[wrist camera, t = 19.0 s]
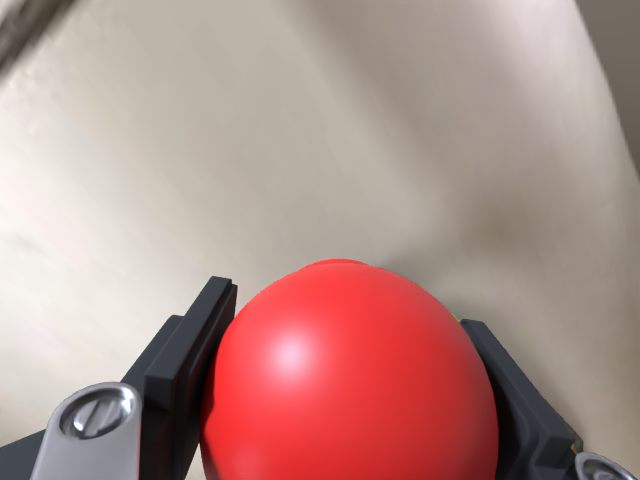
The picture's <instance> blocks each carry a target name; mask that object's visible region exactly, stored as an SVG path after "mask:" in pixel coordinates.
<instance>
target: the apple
mask: <svg viewBox="0 0 640 480" xmlns="http://www.w3.org/2000/svg"><path fill="white" fill-rule="evenodd" d="M199 443H200V450H201V456H202V463H203V468H204V473H205V476H206V479H207V480H494V479H495V473H496V467H497V461H498V448H499V427H498V419H497V411H496V405H495V399H494V394H493V391H492V387H491V384H490V381H489V378H488V375H487V372H486V369H485V366H484V364H483V362H482V360H481V358H480V356H479V354H478V352H477V350H476V348H475V346H474V344H473V343H472V341H471V339H470V337H469V335H468V334H467V333H466V331H465V330H464V329H463V327H462V326H461V325H460V323H459V322H458V321H457V320H456V318H455V317H454V316H453V315H452V313H451V312H450V311H449V310H448V309H447V308H446V307H445V306H444V305H442V304H441V303H440V302H439V301H438V300H437V299H436V298H435V297H433V296H432V295H431V294H430V293H428V292H427V291H425V290H424V289H423V288H421V287H420V286H419V285H417V284H415V283H413V282H411V281H409V280H408V279H406V278H404V277H402V276H400V275H397V274H395V273H392V272H390V271H387V270H384V269H381V268H377V267H373V266H369V265H367V264H364V263H362V262H358V261H354V260H348V259H330V260H323V261H319V262H316V263H313V264H311V265H308V266H306V267H304V268H302V269H300V270H299V271H297V272H294V273H292V274H289V275H287V276H285V277H283V278H282V279H280V280H278V281H276V282H274V283H273V284H271V285H270V286H268V287H267V288H266V289H264V290H263V291H261V292H260V293H259V294H257V295H256V296H255V297H254V298H253V299H252V300H251V301H250V302H249V303H248V304H247V305H245V307H244V308H243V309H242V310H241V311H240V312H239V313H238V315H237V316H236V317H235V318H234V320H233V321H232V322H231V324H230V325H229V326H228V328H227V330H226V331H225V333H224V335H223V337H222V338H221V340H220V342H219V344H218V346H217V347H216V349H215V351H214V354H213V357H212V360H211V363H210V365H209V368H208V371H207V374H206V377H205V380H204V386H203V392H202V397H201V403H200V409H199Z"/></svg>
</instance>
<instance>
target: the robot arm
mask: <svg viewBox="0 0 640 480" xmlns="http://www.w3.org/2000/svg"><path fill="white" fill-rule="evenodd" d="M237 288H238V286H237V285H235V284H232V280H231V279H228V278H222V277H216V276H212V277H211V278H210V280H209V281H208V282H207V284H206V285H205V287H204V288H203V290H202V291H201V292H200V294H199V295H198V297H197V298H196V300H195V301H194V303H193V304H192V305H191V307H190V308H189V310H188V311H187V313H186V314H185V316H178V315H172V316H170V318H169V319H168V320H167V321H166V322H165V324H164V325H163V326H162V328H161V329H160V330H159V332H158V333H157V334H156V335H155V337H154V338H153V339H152V341H151V342H150V343H149V345H148V346H147V347H146V349H145V350H144V351H143V353H142V354H141V355H140V356H139V358H138V359H137V360H136V362H135V363H134V364H133V366H132V367H131V368H130V370H129V371H128V372H127V373H126V375H125V376H124V377H123V379H122V380H121V381H120V382H103V383H99V384H95V385H91V386H88V387H86V388H84V389H81V390H79V391H77V392H75V393H74V394H72V395H71V396H69V397H68V398H66V399H65V400H64V401H63V402H62V403H61V404H60V405H59V406H58V407H57V408H56V409H55V410H54V412H53V414H52V416H51V417H50V419H49V421H48V425H47V428H46V429H44V430H42V431H39V432H37V433H35V434H32V435H30V436H27V437H25V438H22V439H20V440H18V441H15V442H13V443H10V444H8V445H5V446H3V447H0V480H185V478H186V475H187V473H188V470H189V467H190V465H191V462H192V459H193V457H194V454H195V452H196V449H197V446H198V444H199V409H200V403H201V397H202V392H203V386H204V380H205V377H206V374H207V371H208V368H209V365H210V363H211V360H212V357H213V354H214V351H215V349H216V347H217V346H218V344H219V342H220V340H221V338H222V337H223V335H224V333H225V331H226V330H227V328H228V326H229V325H230V324H231V322H232V321H233V320H234V315H235V306H236V298H237ZM460 325H461V326H462V327H463V329H464V330H465V331H466V333H467V334H468V335H469V337H470V339H471V341H472V343H473V344H474V346H475V348H476V350H477V352H478V354H479V356H480V358H481V360H482V362H483V364H484V366H485V369H486V372H487V375H488V378H489V381H490V384H491V387H492V391H493V394H494V399H495V405H496V411H497V419H498V427H499V448H498V461H497V467H496V473H495V479H494V480H638V479H636V478H635V477H634V476H633V475H632V474H631V473H630V472H628V471H627V470H625V469H624V468H622V467H621V466H620V465H618V464H617V463H615V462H613V461H611V460H609V459H607V458H606V457H604V456H601V455H598V454H595V453H591V452H582V453H578V454H577V455H576V454H575V452H574V451H573V450H572V448H571V446H572V444H573V443H574V441H575V440H576V439H575V438H574V437H573V436H572V434H571V433H570V432H569V430H568V429H567V428H566V427H565V425H564V424H563V423H562V422H561V420H560V419H559V418H558V416H557V415H556V414H555V413H554V411H553V410H552V409H551V408H550V406H549V405H548V404H547V402H546V401H545V400H544V399H543V397H542V396H541V395H540V393H539V392H538V391H537V390H536V388H535V387H534V386H533V385H532V383H531V382H530V381H529V379H528V378H527V377H526V376H525V374H524V373H523V372H522V371H521V369H520V368H519V367H518V365H517V364H516V363H515V362H514V360H513V359H512V358H511V357H510V355H509V354H508V353H507V351H506V350H505V349H504V348H503V346H502V345H501V344H500V343H499V341H498V340H497V339H496V337H495V336H494V335H493V334H492V332H491V331H490V330H489V328H488V327H487V326H486V325H485V324H484V323H483V322H480V321H474V320H468V319H462V320H461V321H460Z"/></svg>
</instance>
